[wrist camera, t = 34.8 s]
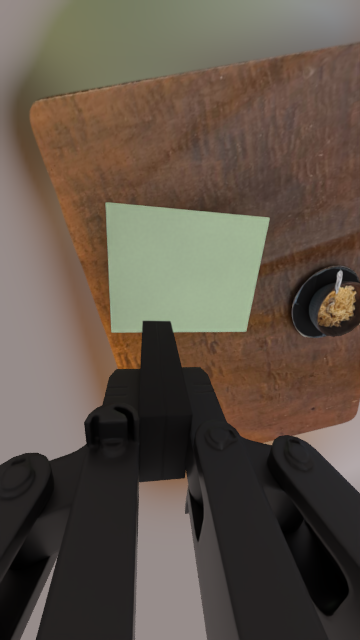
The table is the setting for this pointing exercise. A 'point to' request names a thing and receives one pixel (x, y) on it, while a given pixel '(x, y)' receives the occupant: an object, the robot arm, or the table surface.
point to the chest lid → (182, 267)
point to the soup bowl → (327, 303)
